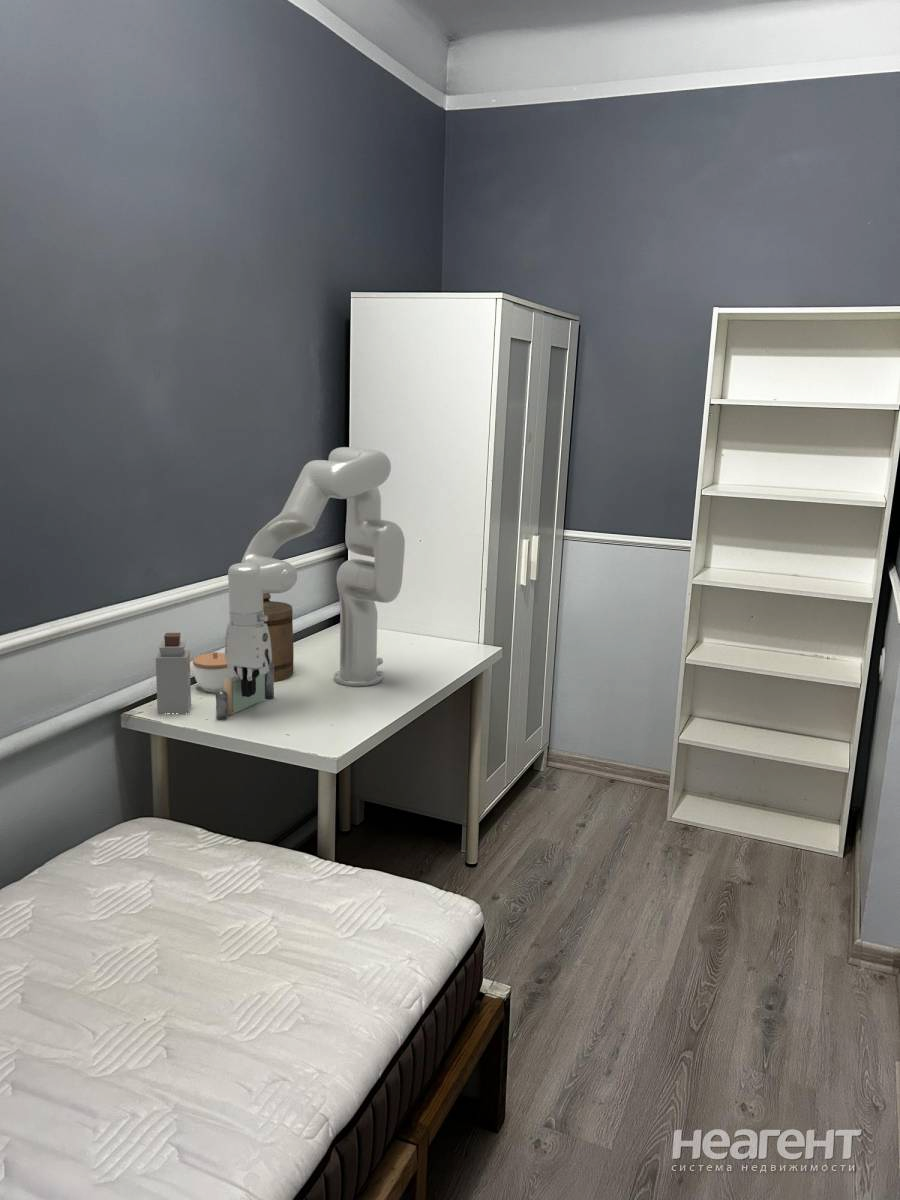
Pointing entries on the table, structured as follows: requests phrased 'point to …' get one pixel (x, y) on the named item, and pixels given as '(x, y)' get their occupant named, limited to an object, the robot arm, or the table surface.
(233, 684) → the gate
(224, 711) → the post
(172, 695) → the perfume bottle
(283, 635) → the wooden container
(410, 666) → the table surface
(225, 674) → the lidded jar
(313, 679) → the table surface
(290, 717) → the table surface
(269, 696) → the hinge post
